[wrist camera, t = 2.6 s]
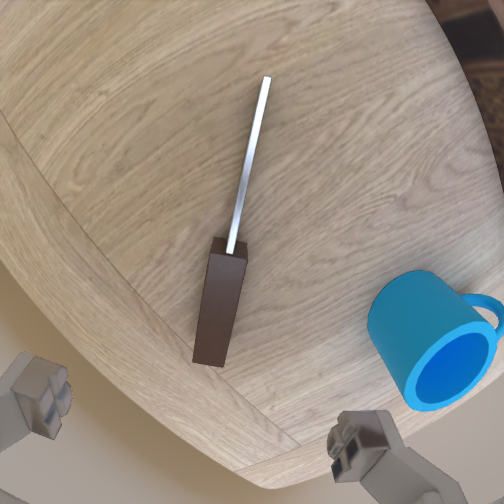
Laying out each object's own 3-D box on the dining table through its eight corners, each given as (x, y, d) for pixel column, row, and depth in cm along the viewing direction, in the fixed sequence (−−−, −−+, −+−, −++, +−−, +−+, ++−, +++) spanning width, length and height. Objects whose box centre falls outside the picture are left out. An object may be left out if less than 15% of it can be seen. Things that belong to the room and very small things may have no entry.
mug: (370, 361, 27) (401, 425, 20) (362, 286, 24) (405, 348, 17) (473, 319, 26) (518, 366, 19) (478, 247, 23) (537, 285, 16)
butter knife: (196, 339, 26) (191, 362, 23) (246, 79, 19) (247, 71, 16) (225, 344, 26) (223, 368, 23) (282, 87, 19) (288, 80, 16)
